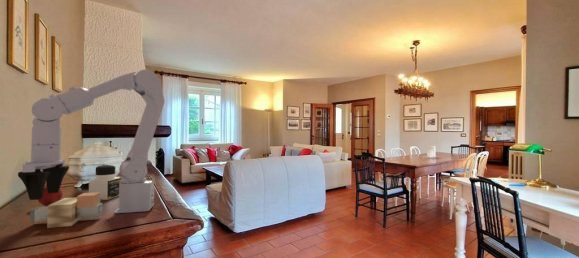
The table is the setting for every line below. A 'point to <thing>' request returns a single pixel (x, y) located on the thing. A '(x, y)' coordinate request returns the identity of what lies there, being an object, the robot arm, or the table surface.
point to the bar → (81, 212)
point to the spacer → (88, 199)
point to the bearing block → (62, 213)
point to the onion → (50, 197)
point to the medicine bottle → (105, 182)
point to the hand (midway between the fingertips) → (45, 195)
